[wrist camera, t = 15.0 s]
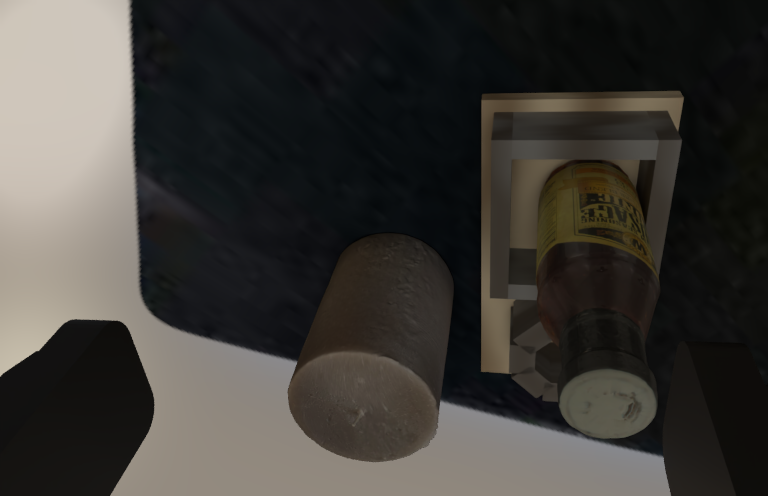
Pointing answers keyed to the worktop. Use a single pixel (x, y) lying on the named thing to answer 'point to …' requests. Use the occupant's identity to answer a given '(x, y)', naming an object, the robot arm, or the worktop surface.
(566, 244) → the sauce bottle
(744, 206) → the worktop surface
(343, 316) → the pillar candle
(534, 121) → the socket board
